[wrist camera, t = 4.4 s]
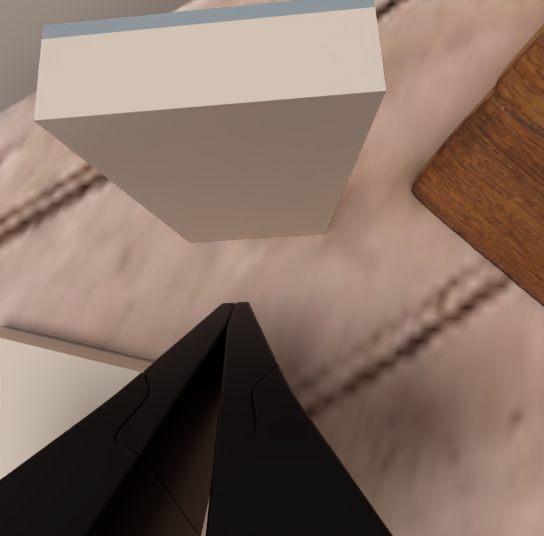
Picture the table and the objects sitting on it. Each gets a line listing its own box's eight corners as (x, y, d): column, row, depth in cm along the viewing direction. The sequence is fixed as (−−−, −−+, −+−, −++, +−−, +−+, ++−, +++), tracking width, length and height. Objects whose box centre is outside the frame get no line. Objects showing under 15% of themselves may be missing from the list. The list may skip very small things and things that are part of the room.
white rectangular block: (325, 233, 17) (386, 90, 7) (189, 242, 18) (34, 120, 7) (321, 191, 18) (373, -8, 7) (189, 201, 18) (43, 25, 7)
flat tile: (184, 368, 16) (164, 377, 14) (143, 529, 15) (114, 572, 13) (4, 326, 17) (-45, 326, 15) (-48, 473, 16) (-111, 502, 14)
